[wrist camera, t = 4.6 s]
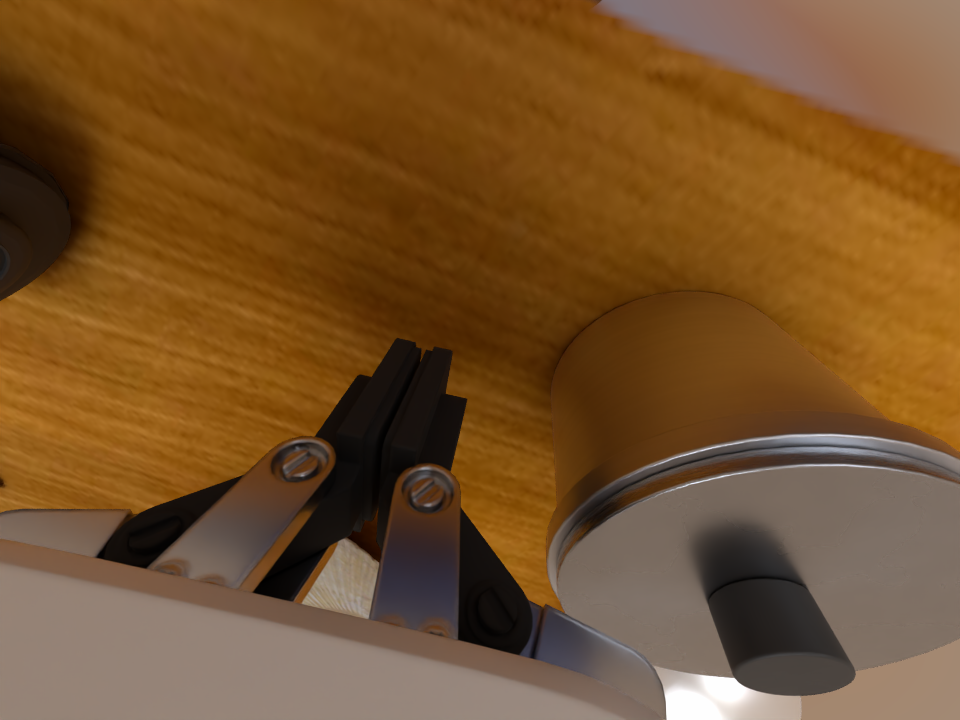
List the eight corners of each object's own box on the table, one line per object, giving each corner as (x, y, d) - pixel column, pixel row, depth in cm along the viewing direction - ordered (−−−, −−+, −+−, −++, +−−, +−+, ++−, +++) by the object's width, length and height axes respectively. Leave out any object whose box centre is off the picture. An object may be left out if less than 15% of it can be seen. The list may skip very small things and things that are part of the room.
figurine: (579, 844, 18) (778, 1002, 7) (486, 680, 22) (527, 630, 11) (695, 674, 23) (914, 621, 12) (602, 565, 27) (706, 456, 16)
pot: (586, 252, 11) (669, 469, 4) (865, 314, 11) (1403, 632, 4) (518, 447, 15) (505, 698, 9) (714, 491, 15) (851, 776, 9)
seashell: (192, 448, 18) (138, 499, 16) (426, 510, 18) (409, 570, 16) (227, 565, 24) (193, 614, 22) (400, 610, 25) (385, 663, 22)
